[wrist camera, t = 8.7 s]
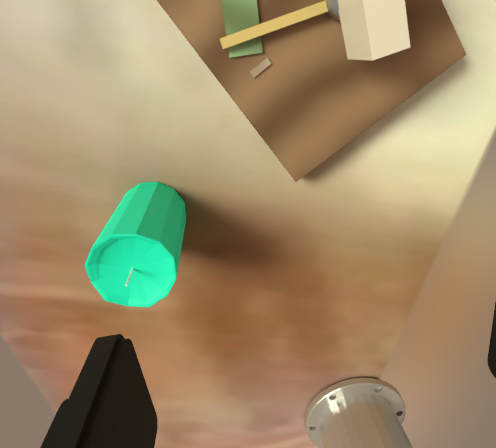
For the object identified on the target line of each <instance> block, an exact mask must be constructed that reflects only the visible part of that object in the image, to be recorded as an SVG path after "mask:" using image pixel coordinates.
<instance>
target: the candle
mask: <svg viewBox="0 0 496 448" xmlns="http://www.w3.org/2000/svg"><path fill="white" fill-rule="evenodd" d="M186 219H187V217H186V208H185V202H184V201H183V199H182V198H181V197H180V196H179V194H178V193H177V192H176V190H175V189H173V188H171V187H169V186H166V185H164V184H162V183H160V182H147V183H140V184H138V185H137V186H135V187H134V188H132V189H131V190H129V191H128V192H127V193H126V194H125V196H124V197H123V199H122V200H121V202H120V204H119V205H118V207H117V208H116V210H115V212H114V213H113V215H112V216H111V218H110V219H109V221H108V223H107V224H106V226H105V227H104V229H103V231H102V232H101V234H100V235H99V237H98V238H97V240H96V242H95V243H94V245H93V246H92V248H91V251H90V253H89V256H88V258H87V261H86V263H85V268H86V270H87V273H88V276H89V278H90V281H91V283H92V284H93V286H94V287H95V288H96V289H97V291H98V292H99V293H100V295H101V296H102V297H103V299H104V300H105V301H108V302H112V303H117V304H121V305H125V306H135V307H150V306H152V305H153V304H155V303H157V302H158V301H160V300H161V299H163V298H164V297H166V296H167V295H168V293H169V291H170V289H171V288H172V286H173V284H174V282H175V280H176V277H177V271H178V266H179V260H180V254H181V248H182V242H183V236H184V230H185V225H186Z"/></svg>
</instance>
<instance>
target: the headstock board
mask: <svg viewBox="0 0 496 448" xmlns="http://www.w3.org/2000/svg"><path fill="white" fill-rule="evenodd" d="M157 1H158V2H159V4H160V5H161V6H162V8H163V9H164V10H165V11H166V13H167V14H168V15H169V17H170V18H171V19H172V21H173V22H174V23H175V25H176V26H177V27H178V28H179V30H180V31H181V32H182V34H183V35H184V36H185V38H186V39H187V40H188V42H189V43H190V44H191V45H192V47H193V48H194V49H195V51H196V52H197V53H198V55H199V56H200V57H201V59H202V60H203V61H204V62H205V64H206V65H207V66H208V68H209V69H210V70H211V72H212V73H213V74H214V76H215V77H216V78H217V79H218V81H219V82H220V83H221V85H222V86H223V87H224V89H225V90H226V91H227V93H228V94H229V95H230V96H231V98H232V99H233V100H234V102H235V103H236V104H237V106H238V107H239V108H240V110H241V111H242V112H243V113H244V115H245V116H246V117H247V119H248V120H249V121H250V123H251V124H252V125H253V127H254V128H255V129H256V130H257V132H258V133H259V134H260V136H261V137H262V138H263V140H264V141H265V142H266V144H267V145H268V146H269V148H270V149H271V150H272V151H273V153H274V154H275V155H276V157H277V158H278V159H279V161H280V162H281V163H282V165H283V166H284V167H285V168H286V170H287V171H288V172H289V174H290V175H291V176H292V178H293V179H294V180H295V182H297V181H298V180H299V179H301V178H302V177H303V176H305V175H306V174H307V173H309V172H310V171H311V170H313V169H314V168H315V167H317V166H318V165H319V164H321V163H322V162H323V161H325V160H326V159H327V158H329V157H330V156H331V155H333V154H334V153H335V152H337V151H338V150H339V149H341V148H342V147H343V146H345V145H346V144H347V143H349V142H350V141H351V140H353V139H354V138H355V137H357V136H358V135H359V134H361V133H362V132H363V131H365V130H366V129H368V128H369V127H370V126H372V125H373V124H374V123H376V122H377V121H378V120H380V119H381V118H382V117H384V116H385V115H386V114H388V113H389V112H390V111H392V110H393V109H394V108H396V107H397V106H398V105H400V104H401V103H402V102H404V101H405V100H406V99H408V98H409V97H410V96H412V95H413V94H414V93H416V92H417V91H418V90H420V89H421V88H422V87H424V86H425V85H426V84H428V83H429V82H430V81H432V80H433V79H434V78H436V77H437V76H438V75H440V74H441V73H442V72H444V71H445V70H446V69H448V68H449V67H450V66H452V65H453V64H454V63H456V62H457V61H458V60H460V59H461V58H463V57H464V56H465V55H466V53H465V51H464V49H463V47H462V44H461V42H460V40H459V38H458V36H457V33H456V31H455V29H454V27H453V25H452V23H451V20H450V18H449V16H448V14H447V12H446V10H445V7H444V5H443V3H442V1H441V0H405V6H406V14H407V23H408V31H409V39H410V48H407V49H405V50H402V51H399V52H396V53H393V54H390V55H387V56H384V57H382V58H379V59H376V60H373V61H370V60H352V59H348V58H347V53H346V47H345V42H344V37H343V32H342V26H341V21H337V20H333V19H331V18H330V17H329V16H328V15H327V14H326V12H325V13H322V14H319V15H317V16H314V17H311V18H308V19H306V20H303V21H300V22H297V23H294V24H292V25H289V26H286V27H283V28H281V29H278V30H275V31H272V32H269V33H267V34H264V35H261V36H258V37H256V38H253V39H250V40H247V41H244V42H242V43H239V44H236V45H233V46H231V47H228V48H225V49H223V48H222V45H221V42H220V38H223V37H225V36H228V35H231V34H234V33H236V32H239V31H242V30H245V29H247V28H250V27H253V26H256V25H259V24H261V23H264V22H267V21H270V20H272V19H275V18H278V17H281V16H283V15H286V14H289V13H292V12H294V11H297V10H300V9H303V8H305V7H308V6H311V5H314V4H317V3H319V2H322V1H323V0H157Z"/></svg>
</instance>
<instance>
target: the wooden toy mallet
mask: <svg viewBox="0 0 496 448" xmlns="http://www.w3.org/2000/svg"><path fill="white" fill-rule="evenodd" d="M325 12H326V14H327V15H328V16H329V17H330V18H331V19H333V20H337V21H341V26H342V32H343V37H344V42H345V47H346V53H347V58H348V59H352V60H370V61H373V60H376V59H379V58H382V57H384V56H387V55H390V54H393V53H396V52H399V51H402V50H405V49H407V48H410V39H409V31H408V23H407V14H406V6H405V0H323V1H322V2H319V3H317V4H314V5H311V6H308V7H305V8H303V9H300V10H297V11H294V12H292V13H289V14H286V15H283V16H281V17H278V18H275V19H272V20H270V21H267V22H264V23H261V24H259V25H256V26H253V27H250V28H247V29H245V30H242V31H239V32H236V33H234V34H231V35H228V36H225V37H223V38H220V42H221V45H222V48H223V49H225V48H228V47H231V46H233V45H236V44H239V43H242V42H244V41H247V40H250V39H253V38H256V37H258V36H261V35H264V34H267V33H269V32H272V31H275V30H278V29H281V28H283V27H286V26H289V25H292V24H294V23H297V22H300V21H303V20H306V19H308V18H311V17H314V16H317V15H319V14H322V13H325Z"/></svg>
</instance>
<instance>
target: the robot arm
mask: <svg viewBox="0 0 496 448" xmlns="http://www.w3.org/2000/svg"><path fill="white" fill-rule="evenodd" d="M488 366H489V369H490V371H491V372H492V374H493V375H494V377H495V378H496V303H495V311H494V318H493V325H492V332H491V339H490V346H489V353H488ZM404 416H405V405H404V402H403V399H402V398H401V396H400V394H399V392H398V391H397V390H396V389H395V388H394V387H393V386H392V385H390V384H389V383H387V382H384V381H382V380H378V379H374V378H353V379H348V380H344V381H341V382H338V383H336V384H333V385H332V386H330V387H328V388H326V389H325V390H323V391H322V392H321V393H319V394H318V395H317V396H316V397H315V398H314V399H313V400H312V402H311V403H310V405H309V407H308V408H307V411H306V414H305V426H306V430H307V433H308V436H309V438H310V439H311V441H312V442H313V443H314V444H316V445H317V446H318V447H320V448H412V446H411V444H410V442H409V440H408V438H407V436H406V434H405V432H404V430H403V428H402V426H401V424H402V422H403V420H404ZM156 433H157V416H156V412H155V409H154V406H153V403H152V400H151V397H150V394H149V391H148V388H147V385H146V382H145V379H144V376H143V373H142V370H141V367H140V364H139V361H138V358H137V356H136V353H135V350H134V347H133V344H132V341H131V340H130V339H124V337H123V336H122V335H121V334H117V335H111V336H105V337H99V338H97V339H96V340H95V342H94V344H93V346H92V348H91V350H90V353H89V355H88V357H87V359H86V362H85V364H84V366H83V368H82V370H81V373H80V375H79V377H78V379H77V381H76V384H75V386H74V388H73V390H72V392H71V395H70V397H69V399H66V400H65V401H64V402H63V403H62V404H61V406H60V407H59V409H58V411H57V413H56V416H55V418H54V420H53V422H52V424H51V426H50V428H49V431H48V433H47V435H46V437H45V439H44V441H43V443H42V446H41V448H154V445H155V439H156Z"/></svg>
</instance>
